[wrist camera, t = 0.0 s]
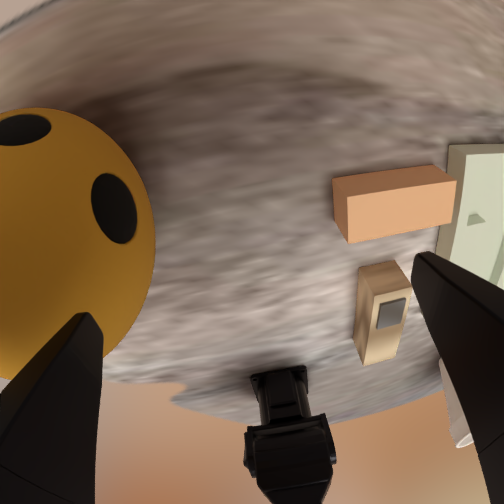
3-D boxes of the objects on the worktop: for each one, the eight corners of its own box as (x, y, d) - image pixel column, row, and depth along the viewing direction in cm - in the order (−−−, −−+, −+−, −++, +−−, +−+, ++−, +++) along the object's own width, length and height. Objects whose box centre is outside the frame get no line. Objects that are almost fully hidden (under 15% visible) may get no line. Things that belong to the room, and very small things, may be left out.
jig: (498, 286, 31) (508, 298, 29) (421, 312, 31) (429, 327, 29) (533, 144, 20) (549, 152, 18) (448, 145, 21) (466, 154, 19)
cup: (485, 349, 40) (520, 412, 28) (426, 386, 43) (454, 454, 31) (490, 310, 33) (538, 384, 22) (419, 354, 36) (457, 439, 25)
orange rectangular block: (429, 202, 24) (451, 222, 21) (333, 219, 24) (348, 244, 21) (432, 163, 22) (456, 180, 19) (330, 177, 22) (347, 197, 19)
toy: (217, 180, 21) (211, 369, 9) (107, 298, 26) (63, 450, 14) (60, 51, 15) (-125, 90, 2) (-16, 203, 20) (-117, 319, 7)
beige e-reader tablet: (382, 330, 32) (395, 359, 29) (352, 337, 33) (364, 368, 29) (393, 258, 27) (414, 289, 23) (358, 266, 27) (375, 298, 23)
